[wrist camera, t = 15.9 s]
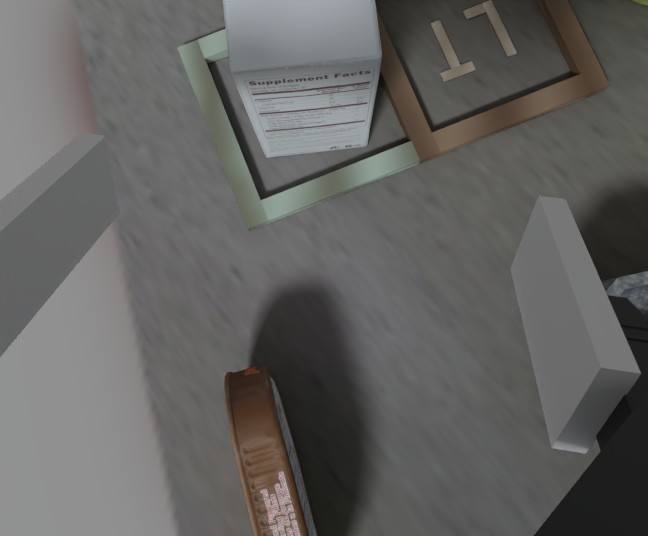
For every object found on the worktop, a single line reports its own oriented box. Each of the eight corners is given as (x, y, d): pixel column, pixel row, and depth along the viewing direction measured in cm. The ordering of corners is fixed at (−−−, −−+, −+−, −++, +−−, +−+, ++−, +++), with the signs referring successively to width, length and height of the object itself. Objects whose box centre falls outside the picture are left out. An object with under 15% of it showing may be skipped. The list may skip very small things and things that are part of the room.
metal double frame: (520, -79, 38) (524, -87, 38) (604, 90, 37) (610, 85, 36) (180, 53, 38) (177, 47, 37) (249, 231, 36) (247, 229, 35)
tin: (235, 369, 35) (204, 380, 27) (281, 356, 35) (263, 363, 27) (292, 603, 33) (278, 693, 25) (341, 589, 33) (342, 675, 25)
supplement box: (254, 61, 38) (214, -74, 25) (358, 51, 38) (369, -90, 25) (263, 161, 37) (225, 72, 24) (369, 150, 37) (386, 56, 24)
